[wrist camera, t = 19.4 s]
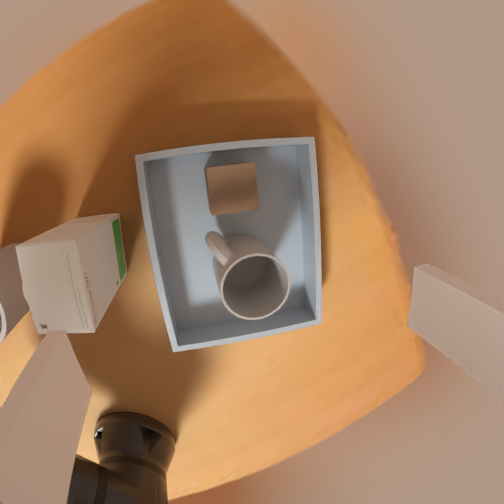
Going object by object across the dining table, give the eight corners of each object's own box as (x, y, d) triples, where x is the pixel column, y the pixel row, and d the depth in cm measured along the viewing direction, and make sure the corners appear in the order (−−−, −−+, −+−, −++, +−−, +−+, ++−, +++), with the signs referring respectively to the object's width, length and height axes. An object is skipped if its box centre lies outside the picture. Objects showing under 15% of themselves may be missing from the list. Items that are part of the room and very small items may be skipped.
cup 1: (24, 230, 31) (-25, 256, 20) (56, 287, 34) (19, 329, 23) (-11, 261, 31) (-57, 292, 20) (19, 312, 34) (-17, 355, 23)
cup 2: (239, 297, 40) (254, 332, 31) (183, 247, 36) (183, 271, 28) (278, 259, 39) (304, 285, 31) (225, 205, 36) (238, 217, 28)
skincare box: (128, 274, 36) (99, 338, 22) (82, 277, 35) (36, 338, 20) (119, 209, 34) (77, 239, 19) (72, 215, 33) (11, 247, 18)
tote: (173, 332, 40) (173, 352, 35) (141, 156, 33) (134, 155, 28) (307, 307, 43) (321, 323, 39) (298, 139, 36) (314, 136, 32)
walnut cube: (203, 167, 34) (206, 167, 29) (245, 162, 35) (255, 162, 30) (208, 209, 36) (212, 215, 31) (249, 203, 36) (259, 209, 32)
